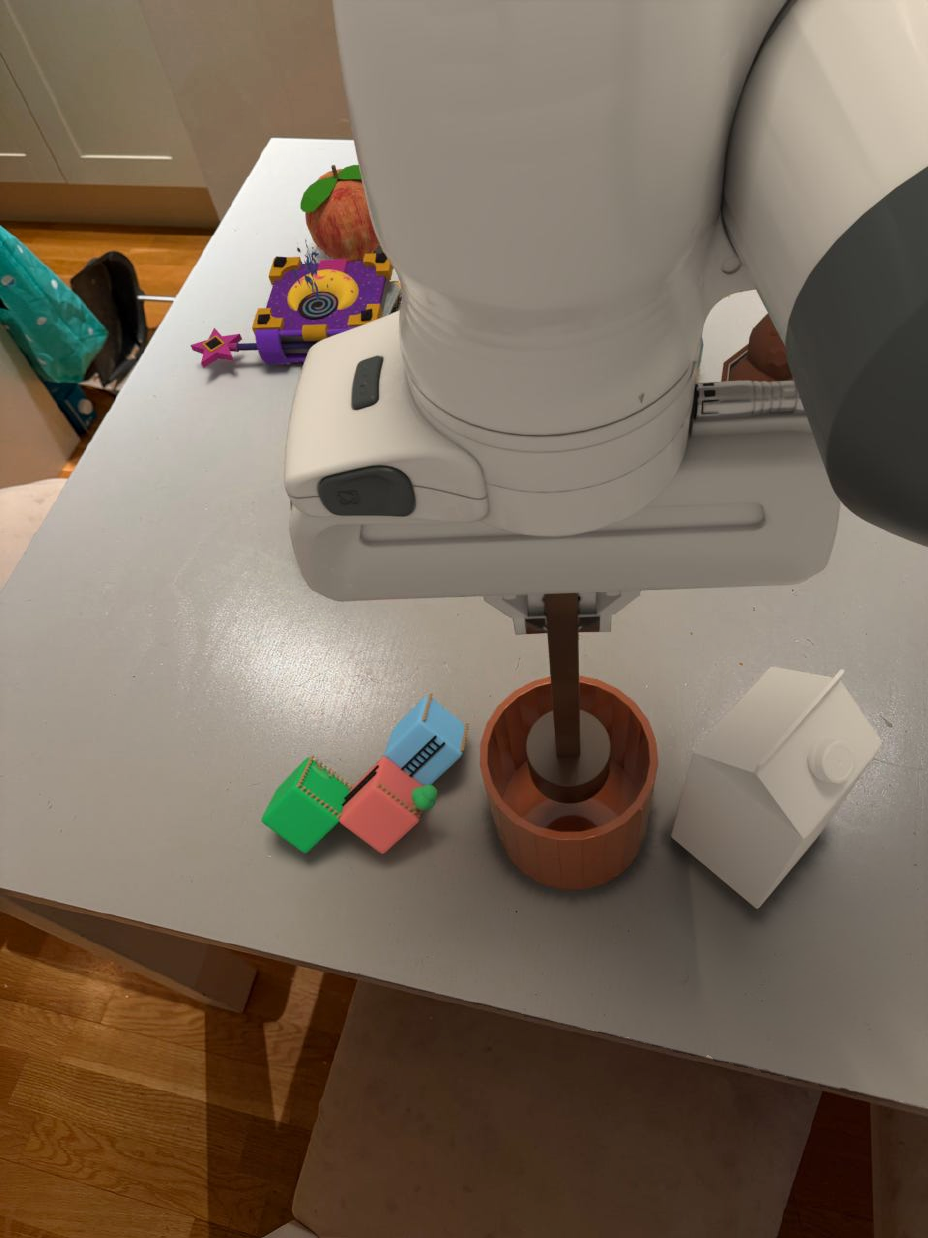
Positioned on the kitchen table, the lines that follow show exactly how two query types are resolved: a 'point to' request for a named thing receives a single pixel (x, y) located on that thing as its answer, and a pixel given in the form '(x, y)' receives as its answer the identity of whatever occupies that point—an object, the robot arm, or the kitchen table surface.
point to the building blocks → (372, 785)
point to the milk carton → (772, 778)
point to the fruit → (340, 215)
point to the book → (311, 307)
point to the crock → (579, 832)
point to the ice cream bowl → (759, 357)
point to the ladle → (567, 718)
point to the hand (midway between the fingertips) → (562, 620)
